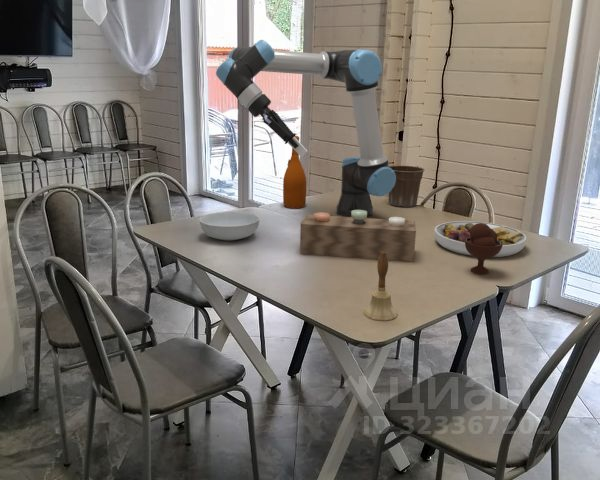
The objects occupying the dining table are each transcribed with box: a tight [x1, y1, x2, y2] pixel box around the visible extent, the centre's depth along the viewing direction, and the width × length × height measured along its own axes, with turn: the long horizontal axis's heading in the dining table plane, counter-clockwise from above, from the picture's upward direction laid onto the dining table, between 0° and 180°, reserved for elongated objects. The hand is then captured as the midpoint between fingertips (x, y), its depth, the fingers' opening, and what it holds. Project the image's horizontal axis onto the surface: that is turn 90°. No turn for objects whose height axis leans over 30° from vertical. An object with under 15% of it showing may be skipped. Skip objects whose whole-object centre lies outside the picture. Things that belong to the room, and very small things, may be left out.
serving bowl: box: [198, 211, 260, 242], centre depth 200 cm, size 21×21×7 cm
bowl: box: [434, 220, 527, 258], centre depth 195 cm, size 30×30×8 cm
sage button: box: [351, 210, 368, 224], centre depth 184 cm, size 5×5×6 cm
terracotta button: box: [313, 211, 331, 222], centre depth 186 cm, size 5×5×6 cm
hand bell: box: [363, 252, 398, 322], centre depth 139 cm, size 8×8×16 cm
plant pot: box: [388, 165, 425, 208], centre depth 250 cm, size 16×16×16 cm
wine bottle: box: [282, 135, 307, 209], centre depth 241 cm, size 10×10×30 cm
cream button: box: [388, 216, 406, 227], centre depth 182 cm, size 5×5×6 cm
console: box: [299, 214, 417, 263], centre depth 185 cm, size 36×12×10 cm, turn 80°
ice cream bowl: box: [465, 223, 503, 276], centre depth 169 cm, size 11×11×15 cm
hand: (304, 154), depth 188 cm, fingers closed
